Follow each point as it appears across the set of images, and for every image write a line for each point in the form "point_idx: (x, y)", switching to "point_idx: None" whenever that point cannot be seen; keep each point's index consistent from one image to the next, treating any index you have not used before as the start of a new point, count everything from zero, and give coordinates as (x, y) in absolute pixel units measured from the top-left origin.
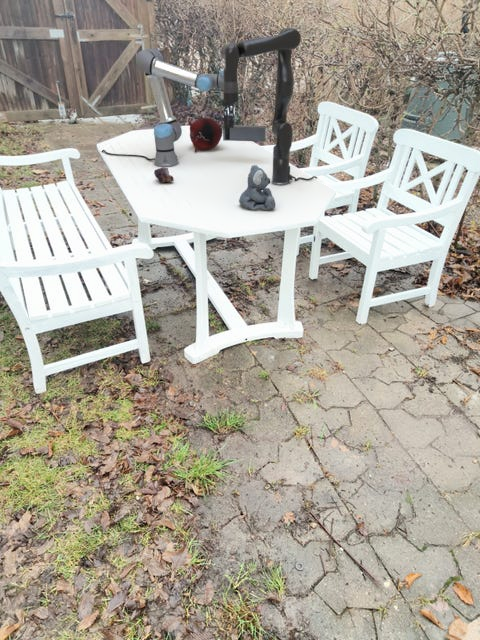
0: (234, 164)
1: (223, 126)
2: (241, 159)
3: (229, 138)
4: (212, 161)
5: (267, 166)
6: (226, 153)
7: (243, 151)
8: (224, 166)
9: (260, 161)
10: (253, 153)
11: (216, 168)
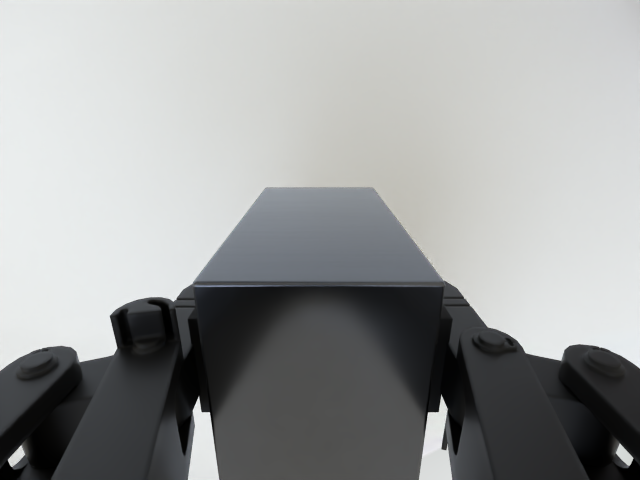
0: None
1: (195, 303)
2: None
3: None
4: (283, 39)
5: None
6: (573, 111)
7: (627, 245)
8: (163, 187)
9: None
10: (556, 324)
11: (87, 135)
